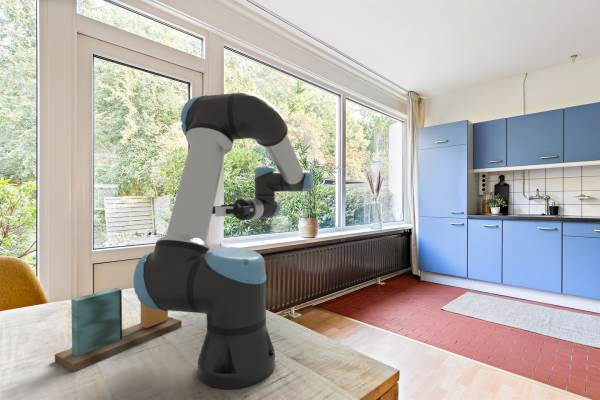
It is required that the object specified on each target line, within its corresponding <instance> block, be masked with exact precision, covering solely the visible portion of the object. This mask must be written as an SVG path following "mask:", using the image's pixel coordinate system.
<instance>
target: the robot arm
mask: <svg viewBox="0 0 600 400" xmlns="http://www.w3.org/2000/svg"><path fill="white" fill-rule="evenodd" d="M180 121H181V122H182V123H181V125H180V127H181V130H182V133H183V134H184V136H185V139H186V141H187V143H188V144H189V148H188V151H187V154H186V155H187V156H186V159H185V163H184V166H183V170H182V175H181V178H180V181H179V186H178V189H177V193H176V197H175V200H174V205H173V207H172V212H171V215H170V217H169V218H170V219H169V223H168V226H167V230H166V234H165V235H163V236H162V237H160V238H158V239H157V240H156V242H155V246H154V249H153V251H150V252H149V253H145V254H144V255H143V256H142V258H140V259H139V260H138V262H137V264H136V266H135V268H134V272H133V288H134V293H135V294H136V296H137V299H138V301H139V303H140V302H141V303H142V304H143V305H145V306H146V307H149V308H153V309H159V310H161V311H168V312H169V311H170V312H171V311H172V312H184V313H195V314H205V315H206V333H205V337H204V340H203V343H202V346H201V350H200V353H199V356H198V360H197V376H198V378H199V380H200V381H201V382H202V383H204V384H205V385H207V386H210V387H213V388H215V389H225V390H226V389H227V390H228V389H229V390H230V389H231V390H232V389H240V388H246V387H249V386H251V385H252V386H253V385H255V384H257V383H260V382H261V381H263V380H265V379H266V378H267V377H269V376H270V375H271V374H272V373H273V371H274V370H275V366H276V352H275V348H274V345H273V342H272V339H271V337H270V336H271V335H270V333H269V331H268V327H267V273H266V263H265V259H264V257H263V255H261V254H260V253H258V252H257V251H255V250H251V249H248V248H244V247H243V248H242V247H234V246H229V247H227V246H217V247H212V248H211V247H210V245H208V242H207V238H208V235H209V230H210V225H211V220H212V215H214V216H215V218H217V217H230V216H231V217H234V218H236V219H237V220H239V221H249V220H252V222H254V221H255V220H260V219H271V218H274V217H276V216H277V217H278V215H279V214H280V212H281V204H280V203H279V201H278V199H276V192H277V193H278V192H280V193H281V192H283V193H285V192H288V193H289V192H310V191H311V190H312V189H313V186H314V175H313V173H312V171H311V170H306V169H305V170H303V167H302V165H301V163H300V160H299V158H298V157H297V154H296V151H295V149H294V147H293V145H292V142H291V141H290V137H289V136H288V133H289V132H288V131H289V127H288V124H287V123H286V120H285V118H284V116H283V115H282V114H281V112H280V111H279V110H278V109H277V108H276V107H275V105H273V104H272V103H270V102H269V101H268V100H267V99H265V98H264V97H262V96H259V95H258V94H254V93H252V92H245V91H240V92H239V91H238V92H234V93H233V92H231V93H221V94H210V95H207V94H204V95H200V96H197V97H196V96H195V97H192V98H189V99H188V100H187V101H186V102H185V103H184V105H183V107H182V110H181V115H180ZM245 139H247V140H255V141H256V143H257V144H258V145H260V146H261V147H264V149H265V151H266V152H267V154H268V155H269V157H270V159H271V160H272V163H274V165H275V168H276V169H277V170H278V171H275V170H276V169H275V168H274V167H273V166H258V167H256V168H255V170H254V178H253V179H254V198H249V197H248V198H239V199H237V200H235V201H234V203H229V204H221V205H218V206H217V205H215V202H216V196H217V191H218V188H219V182H220V178H221V174H222V173H221V172H222V169H223V163H224V159H225V155H226V154H228V153H230V152H231V151H232V150H233V149H232V148H233V144H234V141H235V140H236V141H237V140H245ZM214 205H215V206H214Z"/></svg>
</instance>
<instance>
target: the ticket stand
mask: <svg viewBox="0 0 600 400" xmlns="http://www.w3.org/2000/svg"><path fill="white" fill-rule="evenodd" d="M122 292H123V291H122V289H120V288H118V287H117V288H116V287H115V288H111V289H107V290H102V291H99V292H95V293H90V294H86V295H82V296H77V297H74V298H71V299H70V300H71V304H70V306H71V347H70V348H68V349H66V350H63V351H60V352H58V353H57V352H56V353H55V354H54V362H55V363H57V364H59V365H61V366H62V367H64V368H65V369H66V370H68V371H69V372H72V373H74V372H77V371H80V370H81V369H84V368H86V367H88V366H91V365H93V364H96V363H98V362H101V361H103V360H105V359H107V358H111V357H113V356H115V355H117V354H119V353H121V352H124V351H126V350H129V349H131V348H133V347H136V346H139V345H141V344H143V343H146V342H148V341H150V340H152V339H155V338H157V337H159V336H162V335H165V334H167V333H169V332H172V331H174V330H177V329H180V328H182V320H180V319H177V318H174V317H171V316H168V320H166V321H164V322H161V323H158V324H156V325H153V326H150V327H148V328H145V327H142V326H141V322H140V323H137V324H135V325H132V326H129V327H127V328H124V329H123V309H122V308H123V307H122V306H123V304H122V302H123V301H122V300H123V299H122V297H123V294H122Z"/></svg>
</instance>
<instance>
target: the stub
mask: <svg viewBox="0 0 600 400" xmlns="http://www.w3.org/2000/svg"><path fill="white" fill-rule="evenodd" d="M139 303H140V323H141V326H142V327H145V328H148V327H150V326H153V325H156V324H158V323H161V322H164V321H166V320H168V317H169V311H161V310H159V309H153V308H149V307H146V306H145V305H143V304H142V303H141V302H140V301H139Z"/></svg>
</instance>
